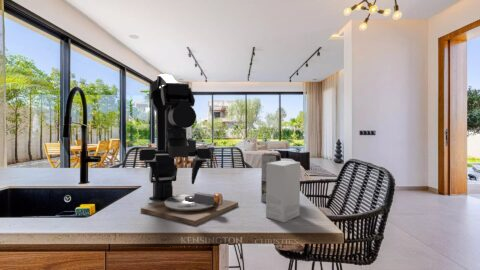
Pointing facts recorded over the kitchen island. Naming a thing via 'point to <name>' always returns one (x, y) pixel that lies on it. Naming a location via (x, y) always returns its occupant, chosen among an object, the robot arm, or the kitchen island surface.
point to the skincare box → (282, 190)
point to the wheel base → (191, 216)
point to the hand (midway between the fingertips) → (175, 185)
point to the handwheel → (193, 202)
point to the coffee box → (265, 159)
